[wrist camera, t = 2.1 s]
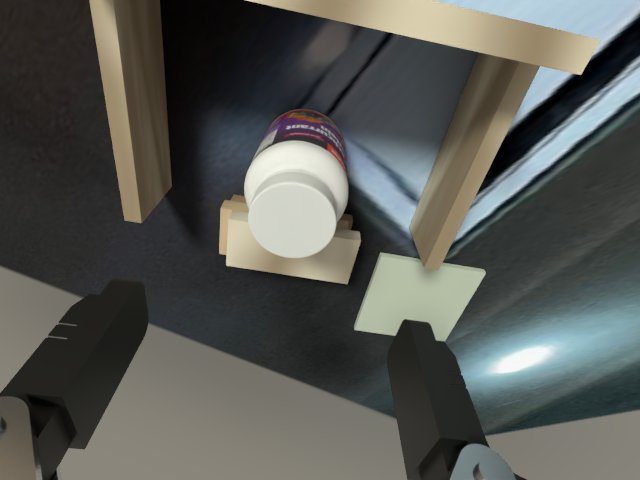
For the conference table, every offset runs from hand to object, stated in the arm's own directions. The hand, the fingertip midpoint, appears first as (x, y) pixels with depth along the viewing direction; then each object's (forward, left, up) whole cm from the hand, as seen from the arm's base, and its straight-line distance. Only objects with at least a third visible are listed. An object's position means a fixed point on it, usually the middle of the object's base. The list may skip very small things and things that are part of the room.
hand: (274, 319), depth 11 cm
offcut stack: (0, +6, -16) cm, 17 cm away
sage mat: (-12, +12, -15) cm, 23 cm away
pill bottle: (0, 0, -16) cm, 16 cm away
